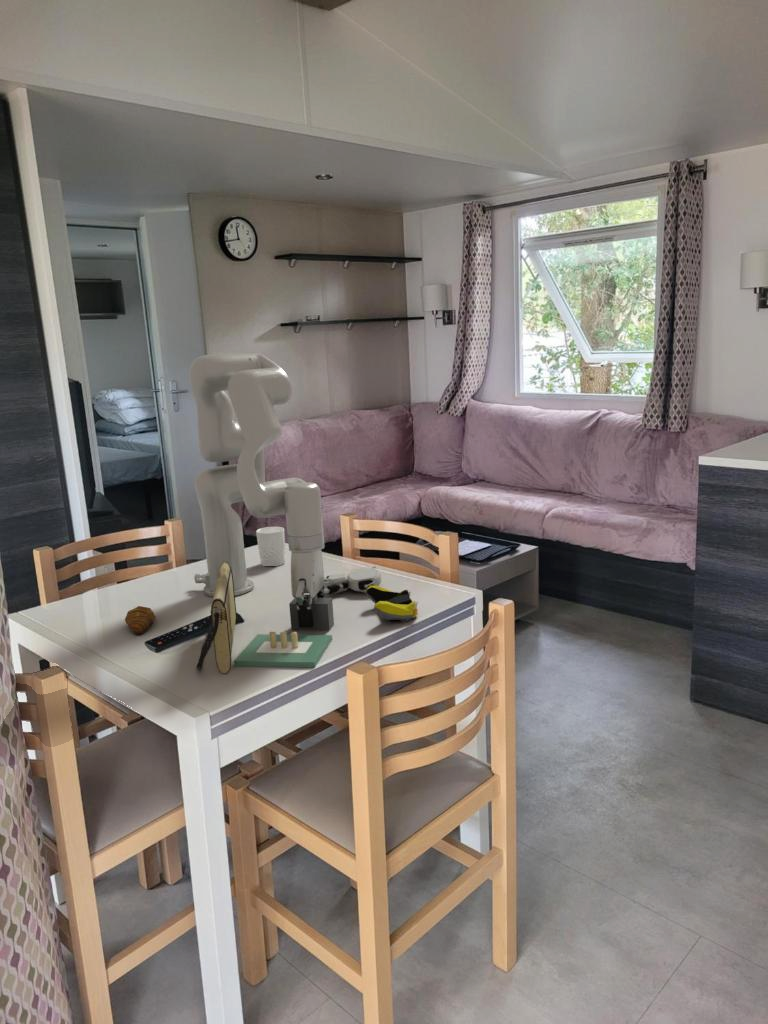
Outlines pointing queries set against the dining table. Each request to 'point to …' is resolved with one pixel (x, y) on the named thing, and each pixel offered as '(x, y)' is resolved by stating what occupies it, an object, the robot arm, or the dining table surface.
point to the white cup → (271, 545)
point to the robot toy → (352, 580)
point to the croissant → (140, 619)
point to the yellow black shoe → (392, 603)
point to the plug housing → (320, 612)
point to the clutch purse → (222, 621)
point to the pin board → (284, 650)
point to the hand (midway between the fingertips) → (312, 619)
